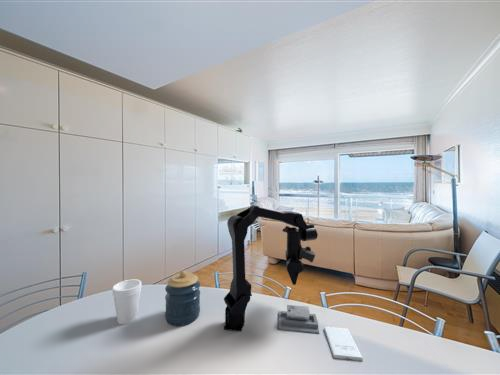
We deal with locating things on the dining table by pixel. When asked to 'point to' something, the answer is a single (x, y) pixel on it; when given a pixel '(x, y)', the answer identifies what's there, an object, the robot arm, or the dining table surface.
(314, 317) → the dock
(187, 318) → the canister
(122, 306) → the foam cup
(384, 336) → the dining table surface
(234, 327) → the robot arm
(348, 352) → the external hard drive
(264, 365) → the dining table surface
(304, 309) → the block
